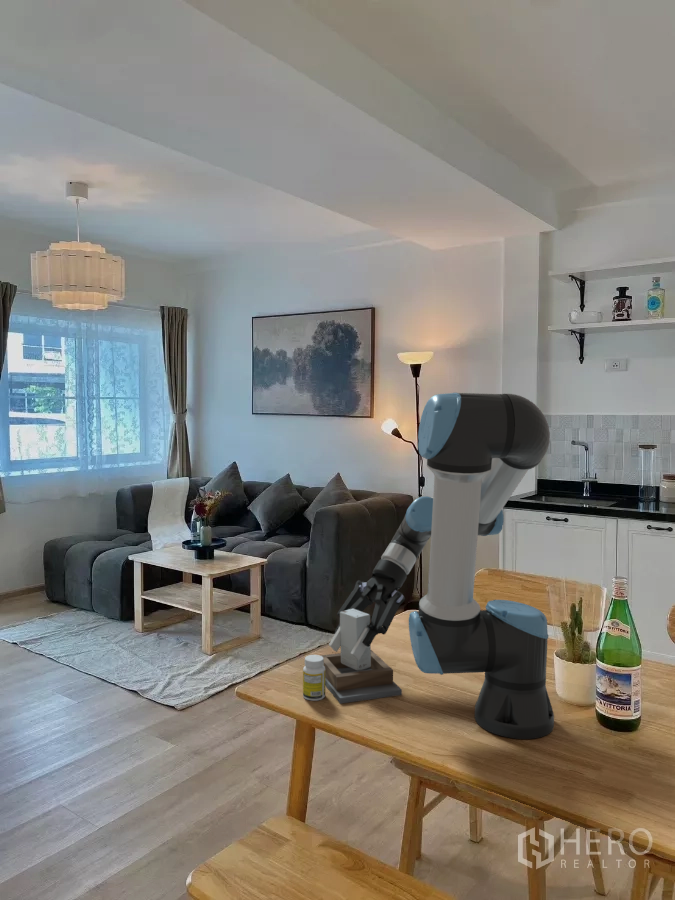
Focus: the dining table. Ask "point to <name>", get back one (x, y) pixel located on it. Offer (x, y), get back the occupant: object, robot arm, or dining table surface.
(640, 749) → the dining table surface
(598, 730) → the dining table surface
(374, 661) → the collar stand
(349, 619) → the skincare box
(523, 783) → the dining table surface
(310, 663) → the supplement bottle
